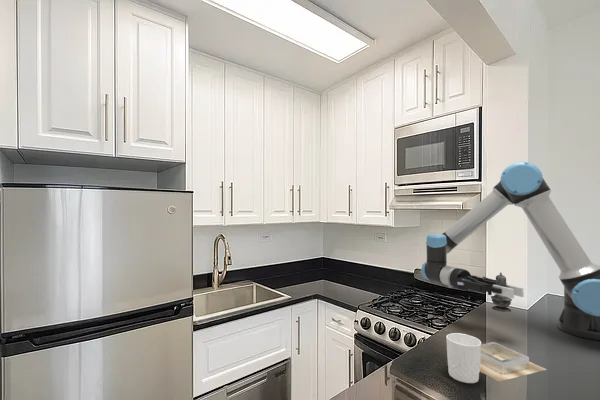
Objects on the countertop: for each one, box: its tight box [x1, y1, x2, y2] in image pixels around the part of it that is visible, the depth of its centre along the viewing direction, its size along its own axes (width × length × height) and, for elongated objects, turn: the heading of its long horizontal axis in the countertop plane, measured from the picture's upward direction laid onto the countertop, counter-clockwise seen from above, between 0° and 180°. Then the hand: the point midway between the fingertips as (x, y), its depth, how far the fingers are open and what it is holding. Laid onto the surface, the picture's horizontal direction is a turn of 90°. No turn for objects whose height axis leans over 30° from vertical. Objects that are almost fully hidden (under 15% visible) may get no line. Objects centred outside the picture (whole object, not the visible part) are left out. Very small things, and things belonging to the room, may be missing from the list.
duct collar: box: [480, 341, 530, 375], centre depth 87 cm, size 10×10×3 cm
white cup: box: [445, 332, 482, 384], centre depth 80 cm, size 8×8×10 cm
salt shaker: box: [490, 271, 513, 313], centre depth 102 cm, size 6×6×12 cm
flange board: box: [479, 354, 547, 383], centre depth 87 cm, size 18×14×1 cm
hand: (517, 293), depth 97 cm, fingers closed on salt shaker, 4 cm apart
